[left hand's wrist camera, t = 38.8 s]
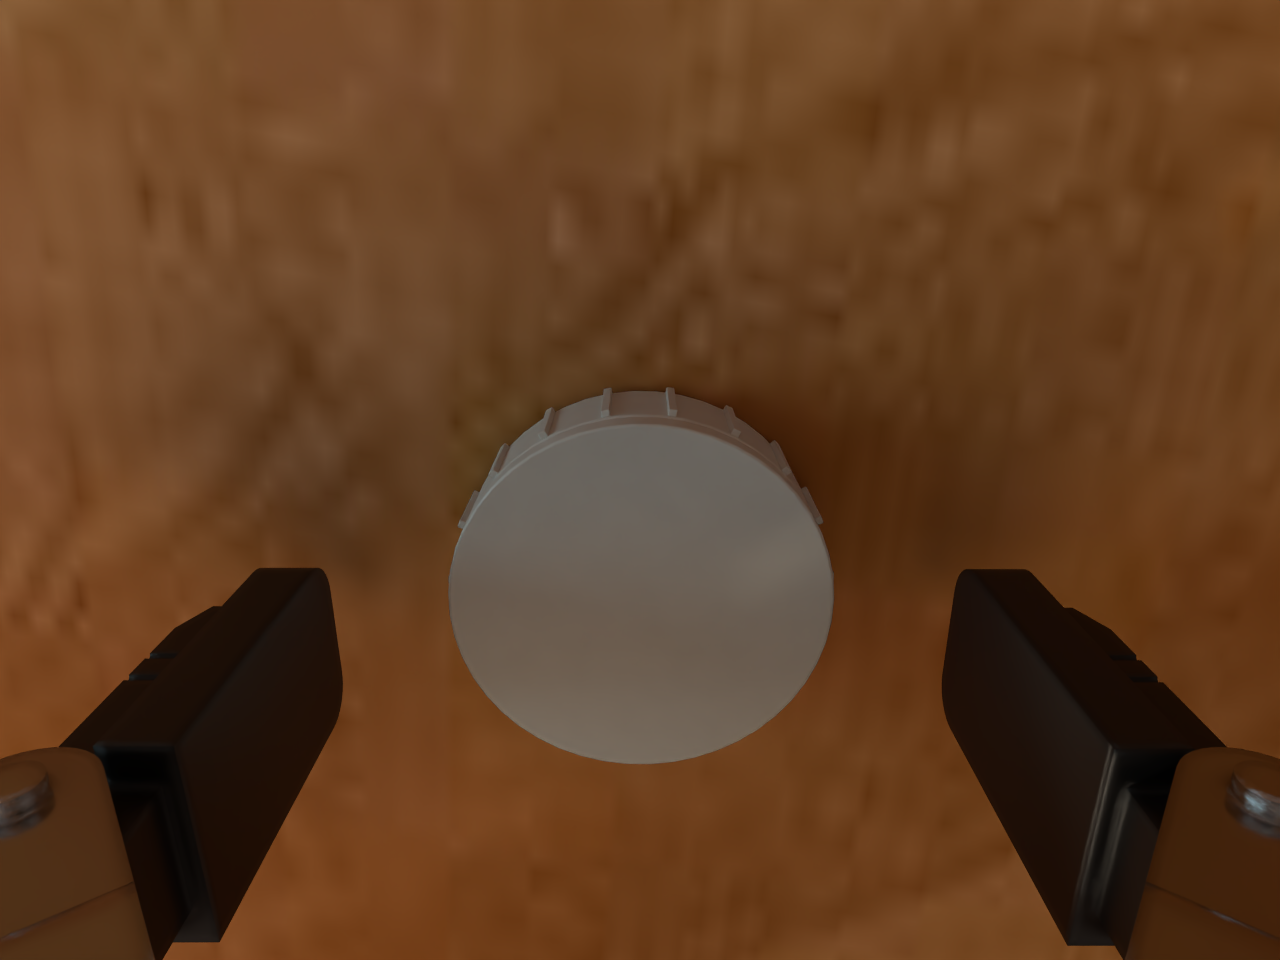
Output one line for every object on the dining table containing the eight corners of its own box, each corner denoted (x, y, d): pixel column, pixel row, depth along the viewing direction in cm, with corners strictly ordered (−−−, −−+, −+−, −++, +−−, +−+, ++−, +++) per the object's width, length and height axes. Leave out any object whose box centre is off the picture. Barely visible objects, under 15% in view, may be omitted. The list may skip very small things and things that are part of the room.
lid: (424, 417, 12) (393, 456, 10) (796, 353, 12) (819, 383, 10) (509, 722, 14) (493, 792, 12) (832, 673, 13) (856, 739, 12)
